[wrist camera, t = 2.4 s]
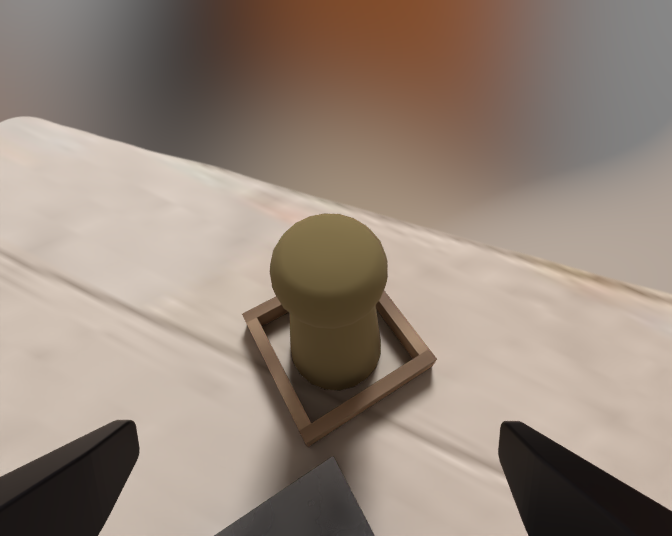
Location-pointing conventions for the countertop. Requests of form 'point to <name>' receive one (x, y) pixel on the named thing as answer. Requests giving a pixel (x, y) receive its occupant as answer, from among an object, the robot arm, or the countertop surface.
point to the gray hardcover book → (307, 509)
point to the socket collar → (362, 400)
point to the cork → (331, 297)
